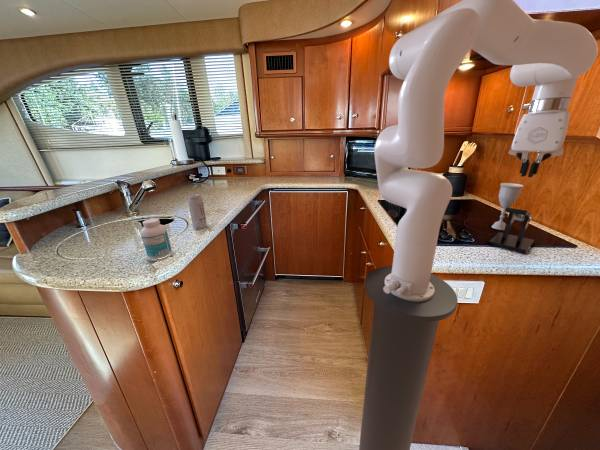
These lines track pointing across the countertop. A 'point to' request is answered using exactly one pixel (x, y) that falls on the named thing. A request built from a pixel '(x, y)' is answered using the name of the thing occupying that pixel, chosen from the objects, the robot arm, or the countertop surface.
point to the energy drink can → (197, 211)
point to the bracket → (513, 241)
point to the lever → (517, 213)
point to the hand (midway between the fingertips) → (527, 176)
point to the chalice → (506, 200)
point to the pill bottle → (155, 240)
